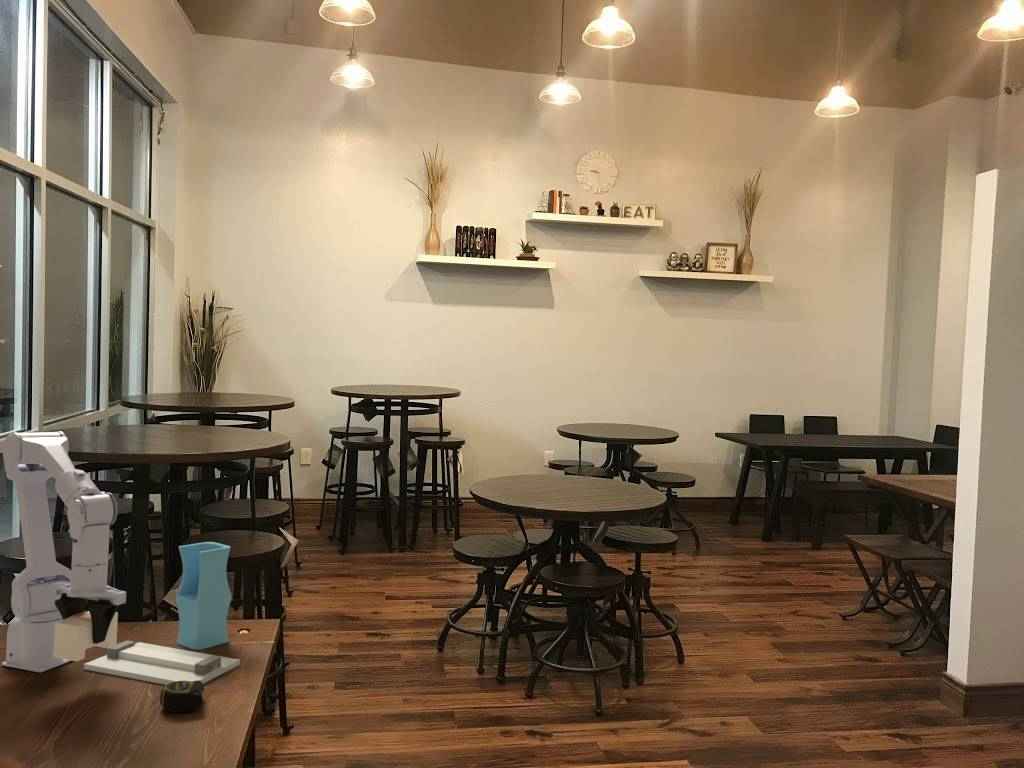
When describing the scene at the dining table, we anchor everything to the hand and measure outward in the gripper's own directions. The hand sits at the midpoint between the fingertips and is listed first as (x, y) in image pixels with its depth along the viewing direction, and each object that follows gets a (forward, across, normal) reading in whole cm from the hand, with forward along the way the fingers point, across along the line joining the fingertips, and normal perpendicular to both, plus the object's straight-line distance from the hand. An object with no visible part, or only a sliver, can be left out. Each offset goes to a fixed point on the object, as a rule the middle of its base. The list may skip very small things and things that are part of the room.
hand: (86, 639), depth 146 cm
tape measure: (+9, +21, +1) cm, 23 cm away
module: (+2, 0, 0) cm, 2 cm away
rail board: (+9, +5, +14) cm, 17 cm away
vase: (+9, +2, +29) cm, 30 cm away
